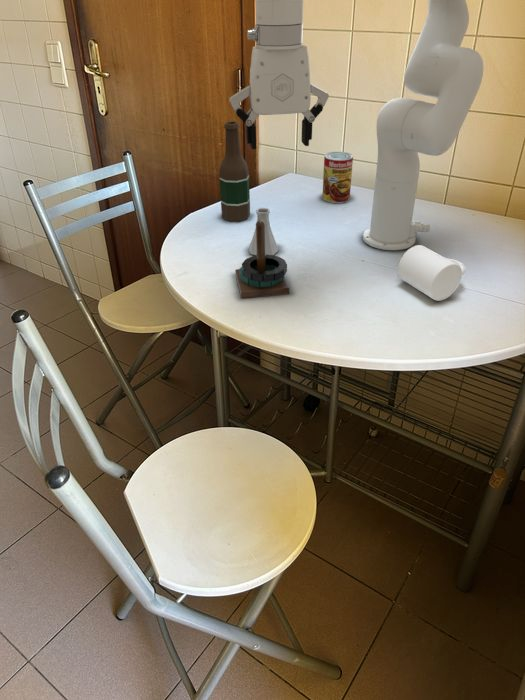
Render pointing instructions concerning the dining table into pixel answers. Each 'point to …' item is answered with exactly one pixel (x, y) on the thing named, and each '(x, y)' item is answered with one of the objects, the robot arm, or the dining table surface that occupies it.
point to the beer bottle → (234, 178)
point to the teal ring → (256, 283)
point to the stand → (252, 291)
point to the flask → (269, 238)
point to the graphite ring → (265, 275)
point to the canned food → (337, 177)
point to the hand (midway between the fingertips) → (279, 145)
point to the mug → (430, 272)
